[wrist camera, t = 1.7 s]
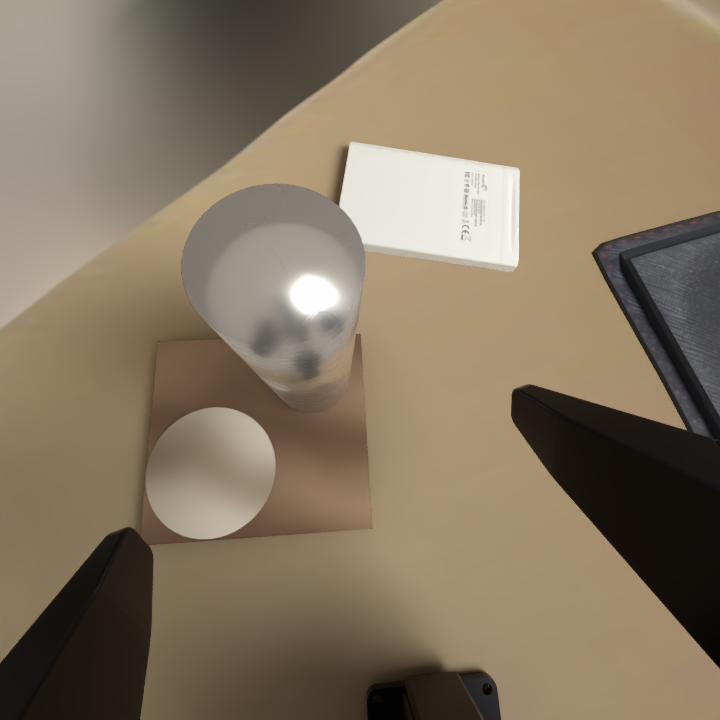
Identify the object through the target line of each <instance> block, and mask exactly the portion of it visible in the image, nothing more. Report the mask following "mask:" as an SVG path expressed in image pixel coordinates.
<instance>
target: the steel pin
mask: <svg viewBox="0 0 720 720" xmlns="http://www.w3.org/2000/svg"><path fill="white" fill-rule="evenodd" d="M181 273H182V279H183V285H184V288H185V291H186V294H187V296H188V298H189V300H190V302H191V304H192V306H193V307H194V309H195V310H196V311H197V313H198V314H199V315H200V316H201V317H202V318H203V319H204V321H205V322H206V323H207V324H208V325H209V326H210V327H211V328H212V329H213V330H214V331H215V332H216V333H217V334H218V335H219V336H220V337H221V338H222V339H223V340H224V341H225V342H226V343H227V344H228V345H229V346H230V347H231V348H232V349H233V350H234V351H235V352H236V353H237V354H238V355H239V356H240V357H241V358H242V359H243V360H244V361H245V363H246V364H247V365H248V366H249V367H250V368H251V369H252V370H253V371H254V372H255V373H256V374H257V375H258V376H259V377H260V378H261V379H262V380H263V381H264V382H265V383H266V384H267V385H268V386H269V387H270V388H271V389H272V390H273V391H274V392H275V393H276V394H277V395H278V396H279V397H280V398H281V399H282V400H283V401H284V402H285V403H286V404H287V405H288V406H289V407H291V408H292V409H294V410H297V411H299V412H303V413H320V412H323V411H326V410H328V409H330V408H332V407H333V406H335V405H336V404H337V403H338V402H339V401H340V400H341V399H342V398H343V396H344V394H345V393H346V390H347V388H348V384H349V378H350V371H351V364H352V357H353V351H354V344H355V337H356V330H357V323H358V316H359V309H360V302H361V295H362V288H363V281H364V274H365V252H364V246H363V243H362V239H361V237H360V234H359V232H358V230H357V228H356V226H355V225H354V223H353V222H352V220H351V219H350V218H349V216H348V215H347V214H346V213H345V212H344V211H343V210H342V209H341V208H340V207H339V206H338V205H337V204H335V203H334V202H333V201H331V200H330V199H328V198H327V197H325V196H323V195H321V194H319V193H317V192H315V191H312V190H310V189H307V188H303V187H299V186H294V185H288V184H264V185H258V186H252V187H249V188H245V189H242V190H239V191H237V192H234V193H232V194H230V195H228V196H226V197H225V198H223V199H221V200H220V201H218V202H217V203H215V204H214V205H213V206H211V207H210V208H209V209H208V210H207V211H206V212H205V213H204V214H203V215H202V216H201V217H200V219H199V220H198V221H197V222H196V224H195V225H194V227H193V228H192V230H191V232H190V234H189V236H188V238H187V240H186V243H185V247H184V250H183V255H182V271H181Z"/></svg>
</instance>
